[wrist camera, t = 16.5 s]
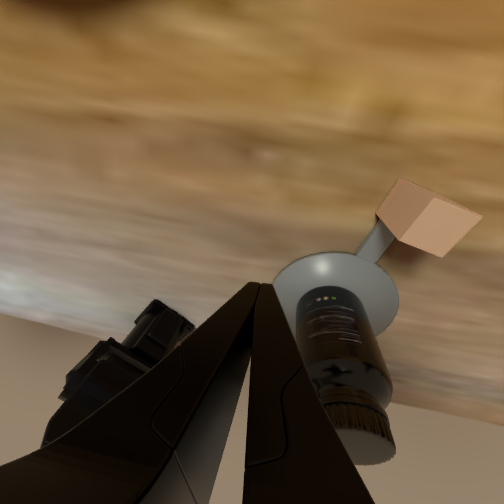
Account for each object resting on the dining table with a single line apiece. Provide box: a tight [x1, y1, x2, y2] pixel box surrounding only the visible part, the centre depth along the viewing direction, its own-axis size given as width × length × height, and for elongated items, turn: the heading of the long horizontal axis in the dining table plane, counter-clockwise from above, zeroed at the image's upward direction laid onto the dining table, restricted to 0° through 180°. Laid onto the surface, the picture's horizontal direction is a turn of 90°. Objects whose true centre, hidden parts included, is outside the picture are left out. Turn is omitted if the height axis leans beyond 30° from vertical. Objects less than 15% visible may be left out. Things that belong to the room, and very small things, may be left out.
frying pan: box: [272, 178, 483, 338], centre depth 20 cm, size 16×18×5 cm
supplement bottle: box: [295, 285, 396, 466], centre depth 18 cm, size 7×7×12 cm
